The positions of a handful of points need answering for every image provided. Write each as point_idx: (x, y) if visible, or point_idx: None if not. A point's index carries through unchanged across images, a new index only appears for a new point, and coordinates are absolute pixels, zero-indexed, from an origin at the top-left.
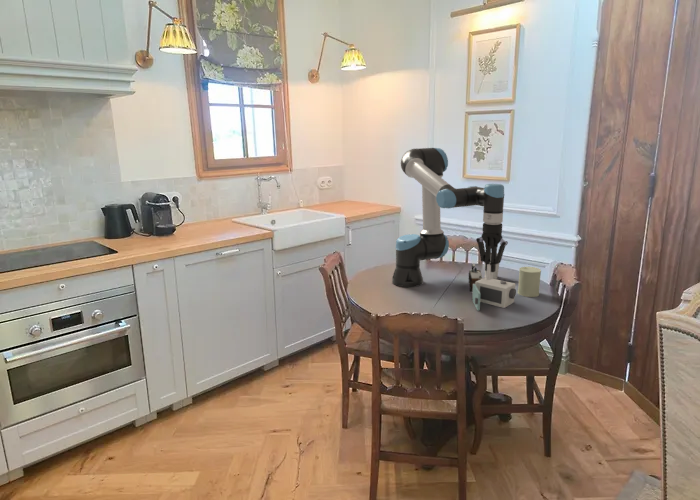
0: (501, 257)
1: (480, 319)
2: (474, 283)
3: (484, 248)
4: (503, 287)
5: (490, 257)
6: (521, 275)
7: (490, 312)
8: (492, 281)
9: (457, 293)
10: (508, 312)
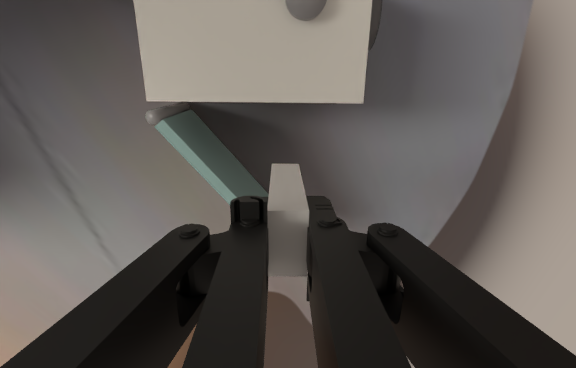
0: (450, 276)
1: None
2: None
3: (93, 360)
4: (342, 87)
5: (265, 254)
6: None
7: (312, 181)
8: (227, 10)
9: (62, 60)
10: (371, 133)
